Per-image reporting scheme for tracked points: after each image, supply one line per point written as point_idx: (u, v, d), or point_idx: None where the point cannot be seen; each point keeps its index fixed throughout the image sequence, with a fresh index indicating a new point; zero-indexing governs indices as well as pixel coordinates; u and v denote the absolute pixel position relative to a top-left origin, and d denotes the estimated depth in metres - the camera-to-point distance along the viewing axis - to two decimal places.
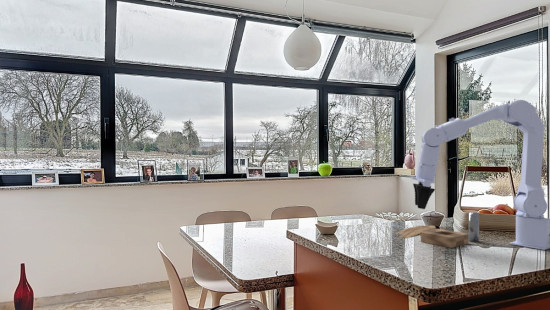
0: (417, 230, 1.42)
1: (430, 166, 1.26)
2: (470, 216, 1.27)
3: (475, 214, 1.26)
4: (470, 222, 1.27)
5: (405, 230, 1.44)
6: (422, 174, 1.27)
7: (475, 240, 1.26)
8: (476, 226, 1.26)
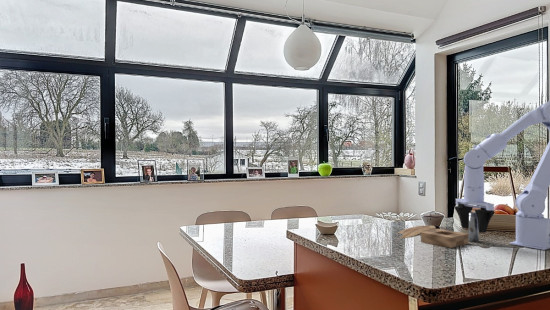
0: (417, 230, 1.42)
1: (481, 188, 1.25)
2: (470, 216, 1.27)
3: (475, 214, 1.26)
4: (470, 222, 1.27)
5: (405, 230, 1.44)
6: (476, 198, 1.25)
7: (475, 240, 1.26)
8: (476, 226, 1.26)
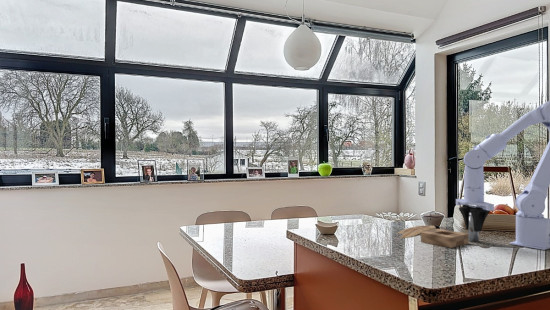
0: (417, 230, 1.42)
1: (481, 188, 1.25)
2: (470, 216, 1.27)
3: None
4: (470, 222, 1.27)
5: (405, 230, 1.44)
6: (476, 198, 1.25)
7: (475, 240, 1.26)
8: None
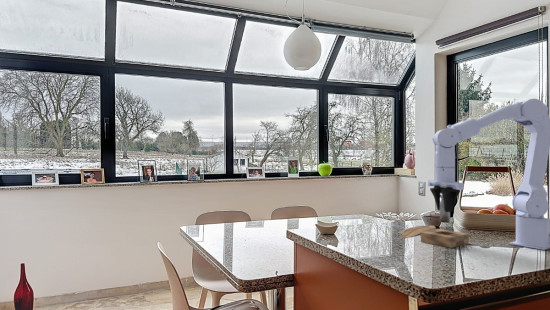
0: (417, 230, 1.42)
1: (452, 168, 1.23)
2: (441, 197, 1.24)
3: None
4: (441, 202, 1.25)
5: (405, 230, 1.44)
6: (446, 177, 1.22)
7: (446, 221, 1.24)
8: None
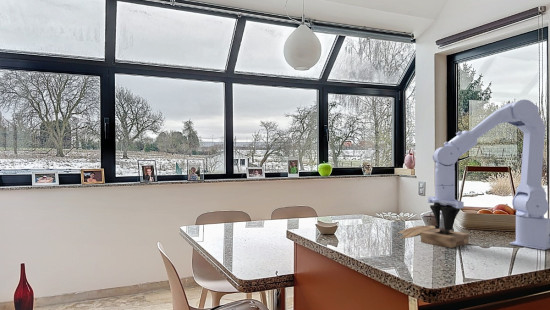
0: (417, 230, 1.42)
1: (452, 186, 1.23)
2: (441, 214, 1.24)
3: None
4: (441, 220, 1.25)
5: (405, 230, 1.44)
6: (446, 195, 1.22)
7: None
8: None
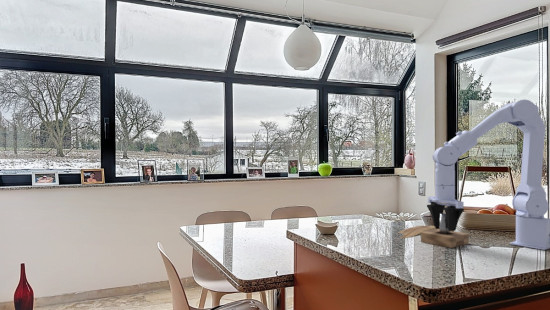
0: (417, 230, 1.42)
1: (452, 186, 1.23)
2: (441, 217, 1.24)
3: None
4: (441, 223, 1.25)
5: (405, 230, 1.44)
6: (446, 195, 1.22)
7: None
8: (447, 227, 1.24)
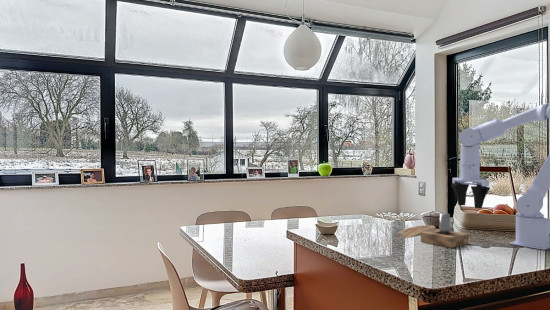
0: (417, 230, 1.42)
1: (477, 166, 1.30)
2: (441, 217, 1.24)
3: (446, 215, 1.24)
4: (441, 223, 1.25)
5: (405, 230, 1.44)
6: (472, 175, 1.29)
7: None
8: (447, 227, 1.24)
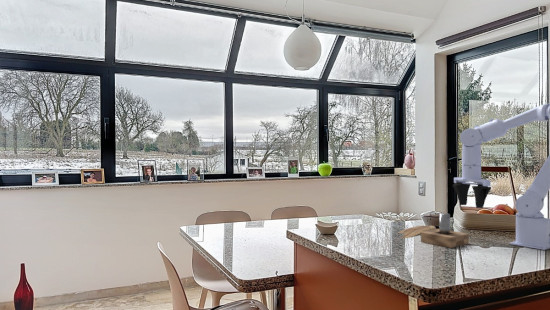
0: (417, 230, 1.42)
1: (479, 165, 1.30)
2: (441, 217, 1.24)
3: (445, 215, 1.24)
4: (441, 223, 1.25)
5: (405, 230, 1.44)
6: (473, 175, 1.30)
7: None
8: (446, 227, 1.24)
